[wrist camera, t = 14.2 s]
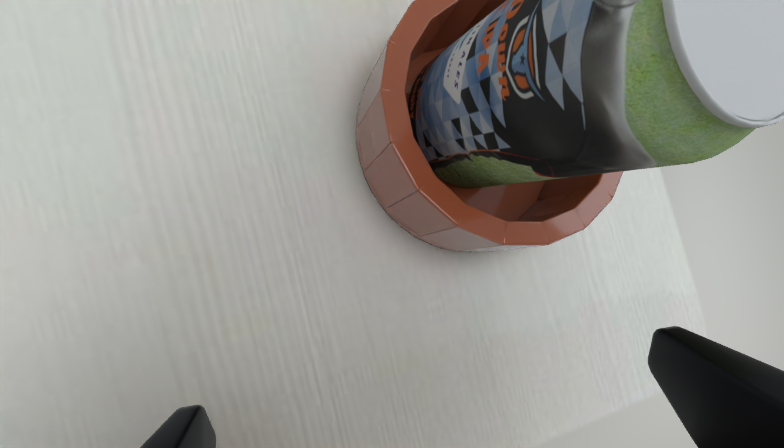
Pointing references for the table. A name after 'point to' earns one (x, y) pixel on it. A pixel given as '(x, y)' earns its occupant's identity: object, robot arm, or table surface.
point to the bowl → (434, 195)
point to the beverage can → (598, 88)
